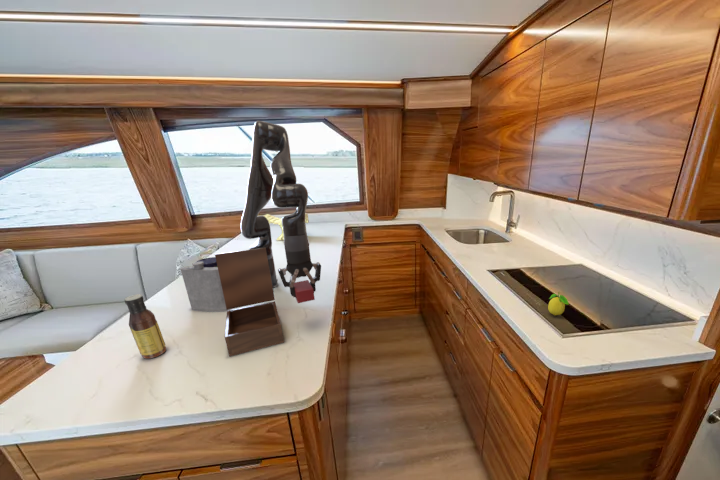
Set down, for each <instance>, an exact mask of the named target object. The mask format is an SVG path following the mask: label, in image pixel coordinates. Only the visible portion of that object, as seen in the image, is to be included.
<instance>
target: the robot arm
mask: <svg viewBox="0 0 720 480" xmlns="http://www.w3.org/2000/svg"><path fill="white" fill-rule="evenodd" d="M251 138H252V139H251V159H250V168H249V174H248V177H247V178H248V179H247V186H246V197H245V203H244V209H243V212H242V216H241V220H240V232H241V234H242V236H243V237H244V238H245V239H247V240H253V239H257V240H256V241H255V242H254V243H253V244H251V245H250V246H249V249H248V250H251V249H259V248H266V253H267V259H268V264H269V270H270V275H271V281H272V287H273V289H276V287H278V286H279V282H278V278H277V272H276V271H278V274H279V277H280V279H281V282H282V285H283V287H284V288H289V292H290V293H289V294H290V296H291V297H293V298H295V297H296V295H295V287H294V283H295V282H297V279H299V278H305V277H307V278H308V281H309V282H310V284H311V286H312V288H313V290H314V293H315V292H317V291H316V289H317V288H316V283H317V282H319V281H321V272H322V265H321V263H320V262H316V263H315V262H312V261H311V260H312V259H311V258H312V257H311V250H310V243H309V238H308V233H307V232H308V231H307V225H306V224H307V223H305V214H306V213H307V212H306V211H307V206H308V199H309V192H308V189H307V187H306V186H305V185H304V184H303V183H297V175H296V173H295V169H294V167H293V164H292V158H291V157H292V156H291V148H290V142H289V141H290V140H289V135H288V132H287V130H286V128H285V127H284V126H282V125H279V124H275V123H272V122H267V121H263V120H256V121H255V122H254V124H253V129H252V137H251ZM263 150H264V151H268V152H269V151H270V152H274V153H276V155H274V157H273V158H271V161H270V164H269V168H268V166H267V164H266V162H265V160H264V157H263ZM269 169H270V170H269ZM270 201H271V203H272V204H273V205H274V206H275V207H277V208H279V209H287V208H288V209H290V208H296V210H295V211H294V212H293V213H289V214H287V215H284V216H283V217H282V218H281V219H282V227H283V234H284V240H283V245H284V252H285V253H284V254H285V259H286V266H285V267H283V268H278V269H277V270H276V265H275V260H274V254H273V241H272V239H273V238H272V230H271V223H270V224H269V221H268V220H267V218H266V217H265V216H264V215H259V214H260V212H262V210H263V209H264V208H265V206H267V204H268V203H269V202H270ZM312 269H314V270H315V273H314V276H313V275H312V274H311V271H312ZM287 272H288V273H289V275H290V276H289V280H288V281H287V280H286V277H285V276H286V274H287Z"/></svg>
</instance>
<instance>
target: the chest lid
mask: <svg viewBox="0 0 720 480" xmlns="http://www.w3.org/2000/svg"><path fill="white" fill-rule="evenodd" d="M214 257H216V262H217V267H218V272H219V276H220V281H221V286H222V290H223V295H224V300H225V304H226V309H227V310H226V311H228V309H229V310H233V309H238V308H243V307H248V306H253V305H258V304H263V303H268V302H273V301H276V299H275V294H274V293H275V292H274V288H273V287H272V281H271V275H270V270H269V264H268V259H267V253H266V248H259V249H251V250H249V249H244V250H236V251H228V252H221V253H220V252H219V253H215V254H214Z"/></svg>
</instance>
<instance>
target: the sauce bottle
mask: <svg viewBox="0 0 720 480" xmlns="http://www.w3.org/2000/svg"><path fill="white" fill-rule="evenodd" d="M123 301H124V303H125V305H126V306H127V308H128V312H129V318H128V327H129V329H130V332H131V334H132V337H133V340H134V341H135V344H136V346H137V349H138V351H139V353H140V355H141V357H142V358H144V359H146V360H147V359H148V360H149V359H155V358H157V357H160V356H161V355H162V354H164V353H165V352H166V351H167V345H166V341H165V338H164V336H163V334H162V331H161V328H160V326H159V323H158V321H157V319H156V316H155V313H153V312H152V310H150V309H148V308H147V306H146V303H145V301H144V296H143V294H141V293H138V294H133V295H130V296H127V297H125V298H124V300H123Z"/></svg>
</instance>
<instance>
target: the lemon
mask: <svg viewBox="0 0 720 480" xmlns="http://www.w3.org/2000/svg"><path fill="white" fill-rule="evenodd" d="M548 300H549V302H548V304H547V310H548V312H549V313H550V314H551V315H553V317H554V316H555V317H557V316H560V315H562V314H563V313H564V312H565V309H566V305H569V300H568V298H567V297H566V296H565V295H563V294H560V292H558V294H557V293H552V294H551V295H550V297H549V298H548Z"/></svg>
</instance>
